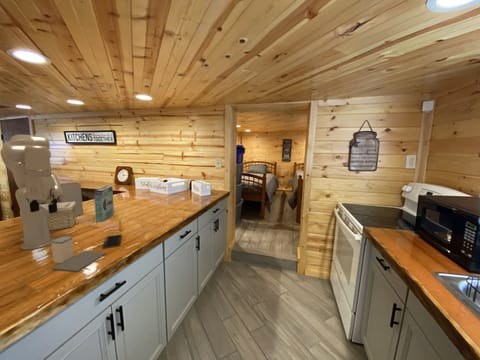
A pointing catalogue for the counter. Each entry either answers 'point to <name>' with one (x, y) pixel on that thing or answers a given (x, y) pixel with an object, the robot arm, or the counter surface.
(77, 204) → the tall grey box
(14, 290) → the counter surface
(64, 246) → the block
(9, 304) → the counter surface
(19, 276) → the counter surface
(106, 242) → the phone
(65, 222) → the storage basket
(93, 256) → the mat
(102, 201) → the teal rectangular box
